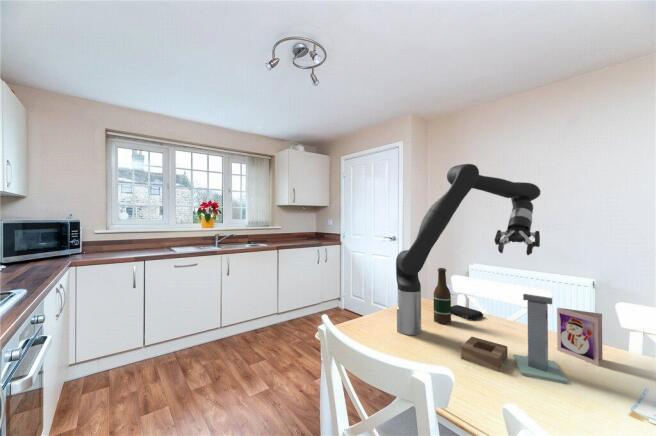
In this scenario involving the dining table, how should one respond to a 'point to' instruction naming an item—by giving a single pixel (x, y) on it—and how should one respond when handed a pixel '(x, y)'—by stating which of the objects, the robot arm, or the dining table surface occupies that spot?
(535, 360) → the t key
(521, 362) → the pad
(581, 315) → the greeting card
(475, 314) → the carrying case or bag
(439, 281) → the beer bottle
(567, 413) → the dining table surface
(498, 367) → the socket block
